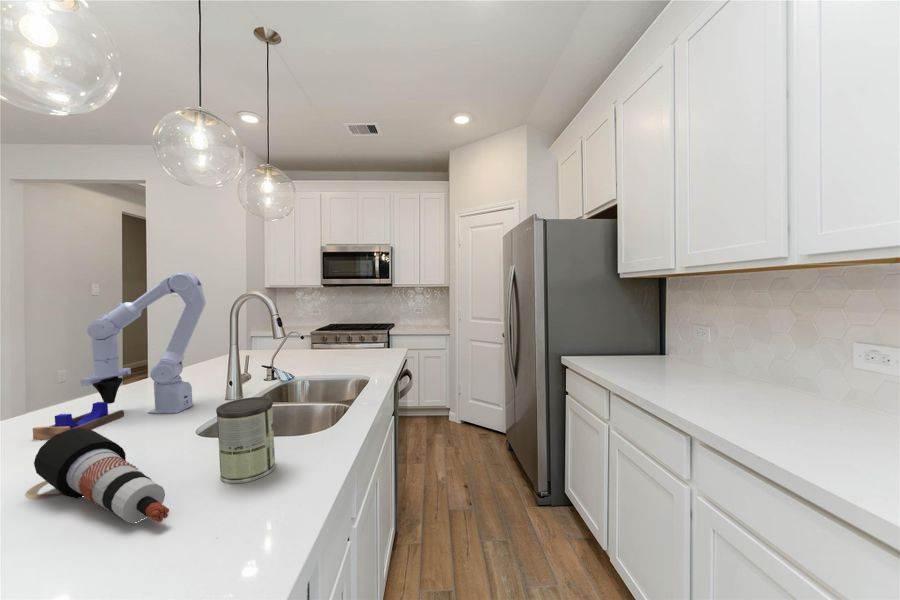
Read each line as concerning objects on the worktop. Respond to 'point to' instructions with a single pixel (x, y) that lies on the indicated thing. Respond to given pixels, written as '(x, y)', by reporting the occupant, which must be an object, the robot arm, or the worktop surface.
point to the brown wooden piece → (51, 431)
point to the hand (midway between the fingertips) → (109, 403)
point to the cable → (99, 475)
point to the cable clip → (97, 412)
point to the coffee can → (246, 439)
